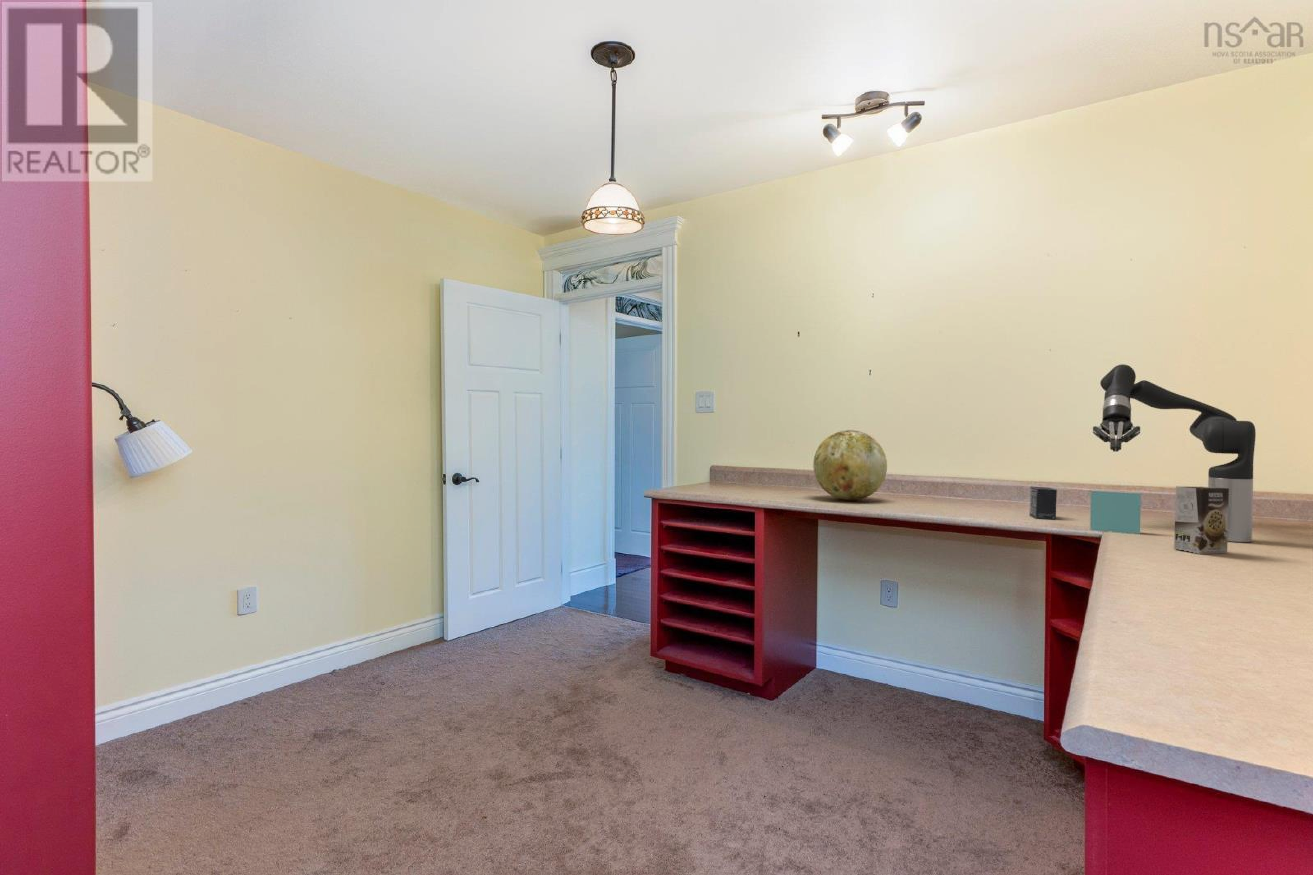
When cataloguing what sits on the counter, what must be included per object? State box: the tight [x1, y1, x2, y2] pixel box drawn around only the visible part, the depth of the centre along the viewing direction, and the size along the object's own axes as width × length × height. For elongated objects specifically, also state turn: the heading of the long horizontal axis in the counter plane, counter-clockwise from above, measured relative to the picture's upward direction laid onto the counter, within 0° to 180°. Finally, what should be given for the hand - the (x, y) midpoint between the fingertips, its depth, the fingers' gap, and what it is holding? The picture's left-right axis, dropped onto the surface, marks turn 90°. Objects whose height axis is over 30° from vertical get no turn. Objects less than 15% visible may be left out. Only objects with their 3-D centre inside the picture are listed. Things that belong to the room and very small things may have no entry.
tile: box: [1089, 489, 1142, 535], centre depth 187 cm, size 4×12×12 cm, turn 53°
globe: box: [812, 429, 888, 502], centre depth 266 cm, size 30×30×30 cm
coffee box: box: [1173, 486, 1229, 555], centre depth 155 cm, size 9×6×16 cm
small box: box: [1028, 486, 1058, 520], centre depth 218 cm, size 11×6×10 cm, turn 160°
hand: (1115, 449), depth 196 cm, fingers closed
